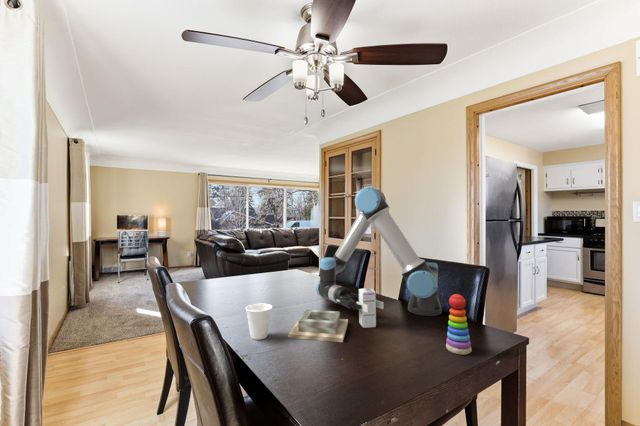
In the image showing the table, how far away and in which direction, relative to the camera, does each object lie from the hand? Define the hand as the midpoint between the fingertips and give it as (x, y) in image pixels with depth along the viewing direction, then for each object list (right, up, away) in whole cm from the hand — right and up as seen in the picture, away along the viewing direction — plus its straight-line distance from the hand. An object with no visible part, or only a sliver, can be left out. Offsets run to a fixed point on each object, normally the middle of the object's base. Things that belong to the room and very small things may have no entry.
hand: (375, 307), depth 124 cm
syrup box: (-3, -9, +4) cm, 10 cm away
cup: (-45, -9, -9) cm, 46 cm away
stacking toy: (+24, -9, -19) cm, 32 cm away
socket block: (-22, -8, -2) cm, 24 cm away
